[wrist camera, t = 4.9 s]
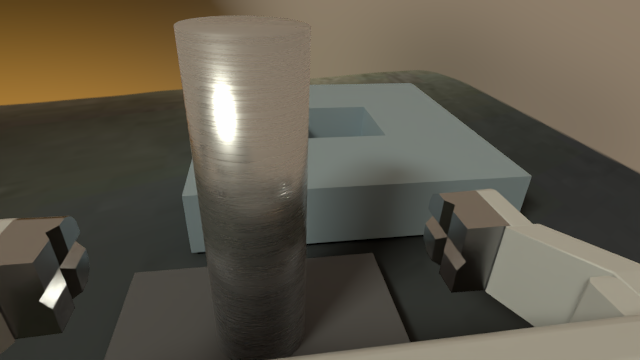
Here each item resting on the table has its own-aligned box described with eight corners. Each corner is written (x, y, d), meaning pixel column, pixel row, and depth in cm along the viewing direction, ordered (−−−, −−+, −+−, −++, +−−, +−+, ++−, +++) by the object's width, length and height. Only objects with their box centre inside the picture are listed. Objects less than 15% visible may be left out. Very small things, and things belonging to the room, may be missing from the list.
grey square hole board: (191, 252, 18) (182, 196, 16) (215, 123, 32) (211, 86, 30) (514, 227, 20) (531, 176, 19) (406, 117, 34) (411, 83, 33)
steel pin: (214, 372, 12) (161, 35, 7) (220, 300, 15) (184, 14, 10) (310, 361, 13) (320, 37, 8) (299, 293, 15) (302, 16, 10)
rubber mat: (72, 470, 10) (67, 462, 10) (136, 280, 16) (134, 272, 16) (435, 414, 12) (437, 407, 12) (371, 259, 18) (372, 252, 18)
